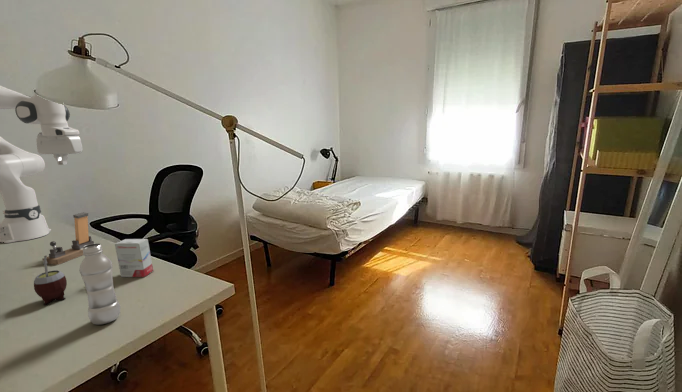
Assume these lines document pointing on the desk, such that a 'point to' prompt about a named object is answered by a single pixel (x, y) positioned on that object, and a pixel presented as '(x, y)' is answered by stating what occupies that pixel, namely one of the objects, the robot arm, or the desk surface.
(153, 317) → the desk surface
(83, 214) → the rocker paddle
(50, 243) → the toggle lever
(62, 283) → the mate gourd
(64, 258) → the switch panel
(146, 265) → the ink box
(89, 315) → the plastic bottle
